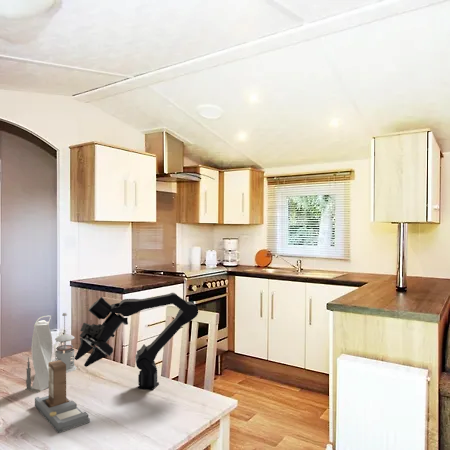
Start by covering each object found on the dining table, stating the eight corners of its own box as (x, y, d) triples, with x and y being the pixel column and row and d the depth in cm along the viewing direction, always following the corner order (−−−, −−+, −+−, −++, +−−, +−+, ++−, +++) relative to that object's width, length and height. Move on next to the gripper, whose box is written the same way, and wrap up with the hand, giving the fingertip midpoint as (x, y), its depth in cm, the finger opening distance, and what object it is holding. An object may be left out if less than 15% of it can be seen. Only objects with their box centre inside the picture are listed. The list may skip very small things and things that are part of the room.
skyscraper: (43, 382, 161) (42, 313, 161) (57, 385, 157) (57, 315, 157) (25, 390, 153) (24, 318, 153) (39, 394, 150) (39, 320, 150)
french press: (53, 374, 168) (53, 316, 168) (51, 366, 179) (51, 311, 179) (78, 370, 173) (77, 313, 173) (74, 362, 183) (74, 308, 183)
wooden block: (45, 404, 138) (45, 363, 138) (63, 399, 142) (62, 359, 142) (51, 410, 133) (51, 367, 133) (69, 405, 137) (69, 363, 137)
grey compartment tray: (33, 406, 139) (33, 396, 139) (63, 397, 145) (63, 388, 145) (56, 433, 121) (56, 421, 121) (89, 422, 127) (89, 410, 127)
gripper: (84, 310, 154) (55, 344, 147) (105, 319, 140) (73, 356, 132) (104, 327, 159) (76, 360, 152) (125, 337, 145) (96, 374, 138)
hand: (80, 362), depth 143 cm, fingers open, 9 cm apart
